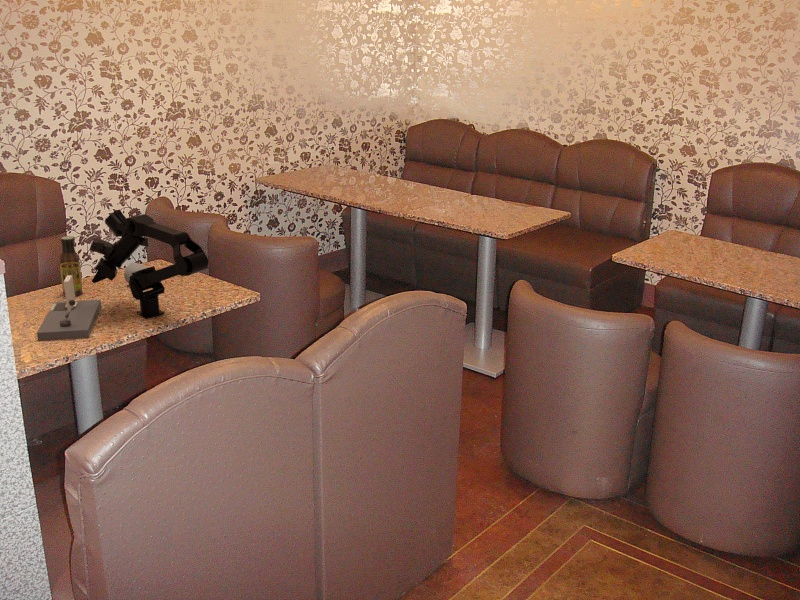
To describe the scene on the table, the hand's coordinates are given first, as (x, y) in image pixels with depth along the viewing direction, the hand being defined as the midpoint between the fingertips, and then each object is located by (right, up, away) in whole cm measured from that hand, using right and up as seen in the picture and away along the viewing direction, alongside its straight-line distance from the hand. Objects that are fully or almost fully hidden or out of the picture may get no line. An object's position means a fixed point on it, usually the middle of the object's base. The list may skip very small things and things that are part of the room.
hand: (92, 282), depth 249 cm
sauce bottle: (-14, -4, +18) cm, 23 cm away
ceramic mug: (+7, 0, +29) cm, 30 cm away
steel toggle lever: (-2, -11, -14) cm, 18 cm away
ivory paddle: (-7, -7, +1) cm, 10 cm away
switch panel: (-4, -13, -5) cm, 15 cm away
